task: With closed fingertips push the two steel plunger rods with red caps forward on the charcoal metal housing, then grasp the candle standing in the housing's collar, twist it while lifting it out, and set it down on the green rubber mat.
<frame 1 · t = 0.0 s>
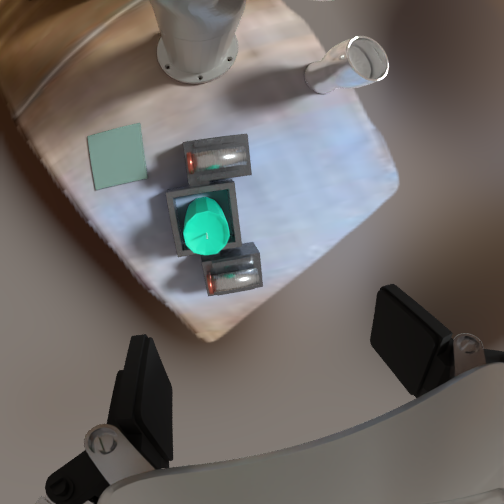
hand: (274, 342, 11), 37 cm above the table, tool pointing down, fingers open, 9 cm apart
beer glass: (320, 78, 40), on the table
candle: (204, 214, 46), resting in housing
housing: (222, 212, 46), on the table
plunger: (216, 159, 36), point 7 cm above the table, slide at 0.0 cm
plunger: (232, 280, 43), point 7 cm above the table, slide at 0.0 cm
pad: (116, 156, 39), on the table
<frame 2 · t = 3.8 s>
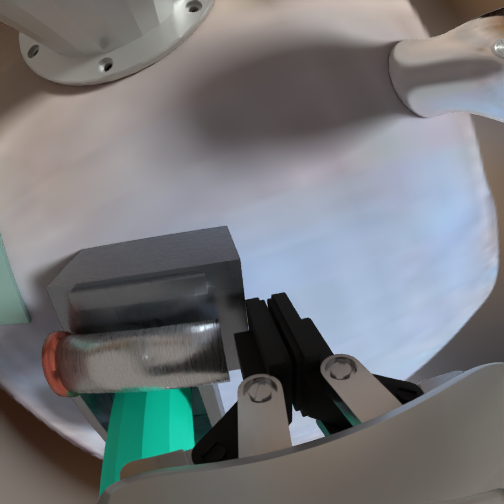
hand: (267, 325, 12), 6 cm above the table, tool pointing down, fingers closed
beer glass: (417, 78, 15), on the table
candle: (153, 387, 20), resting in housing
housing: (190, 385, 20), on the table
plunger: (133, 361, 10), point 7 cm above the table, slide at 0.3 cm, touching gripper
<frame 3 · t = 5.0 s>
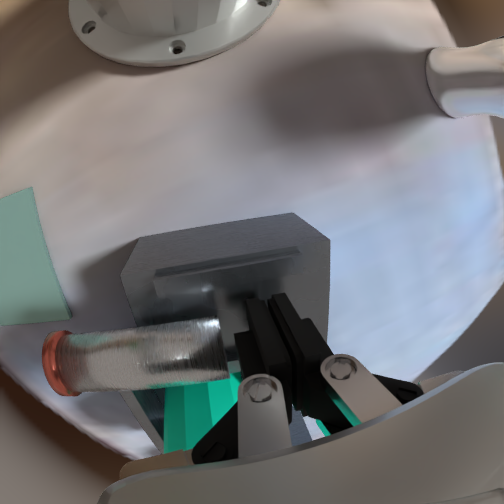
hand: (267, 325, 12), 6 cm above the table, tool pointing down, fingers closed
beer glass: (447, 82, 15), on the table
candle: (203, 379, 20), resting in housing
housing: (242, 375, 21), on the table
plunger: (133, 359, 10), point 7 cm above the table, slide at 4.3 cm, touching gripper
pad: (4, 266, 14), on the table
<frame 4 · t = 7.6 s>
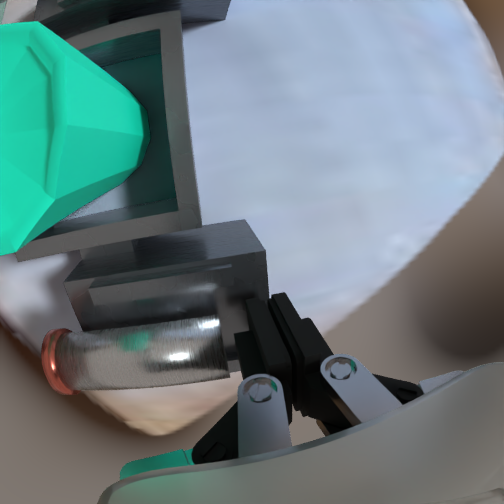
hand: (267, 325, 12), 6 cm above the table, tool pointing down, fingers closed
candle: (100, 137, 13), resting in housing
housing: (150, 125, 13), on the table
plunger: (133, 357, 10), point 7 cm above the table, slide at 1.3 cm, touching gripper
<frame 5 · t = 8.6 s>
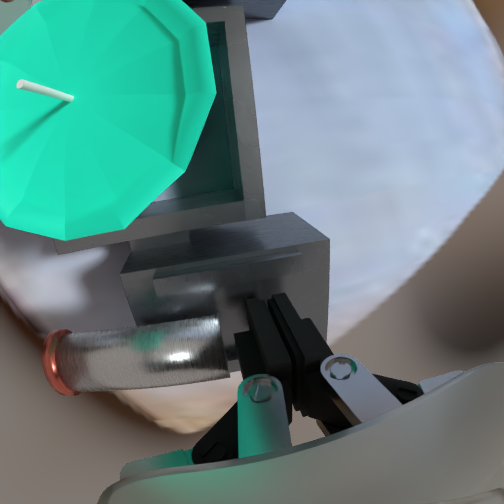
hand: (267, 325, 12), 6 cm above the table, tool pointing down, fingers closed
candle: (148, 126, 13), resting in housing
housing: (202, 117, 14), on the table
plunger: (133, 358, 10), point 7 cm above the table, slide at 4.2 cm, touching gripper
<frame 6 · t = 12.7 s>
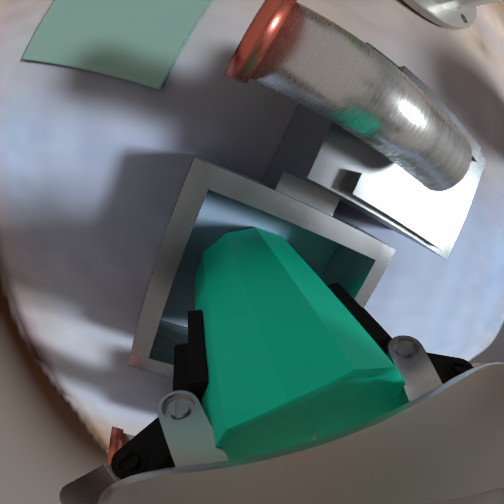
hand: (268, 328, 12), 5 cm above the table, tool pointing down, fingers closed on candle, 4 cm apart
candle: (248, 278, 16), resting in housing, touching gripper
housing: (294, 293, 17), on the table
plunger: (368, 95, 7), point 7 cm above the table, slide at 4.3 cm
when the fingers open (6 cm above the table, at t = 18.4 s): candle drops 1 cm, resting on pad.
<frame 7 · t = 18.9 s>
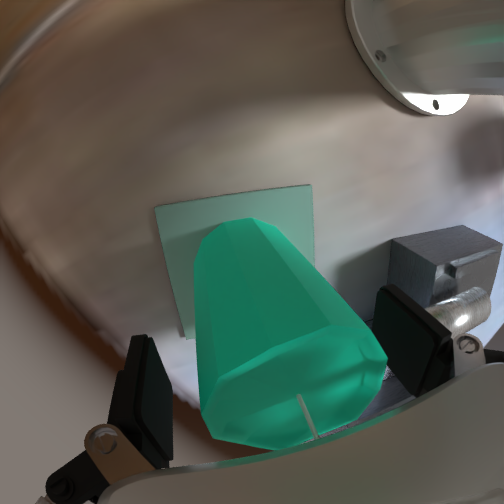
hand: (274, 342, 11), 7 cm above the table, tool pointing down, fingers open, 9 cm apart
candle: (243, 264, 17), resting on pad
housing: (409, 345, 24), on the table
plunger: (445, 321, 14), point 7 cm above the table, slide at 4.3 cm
pad: (243, 266, 17), on the table
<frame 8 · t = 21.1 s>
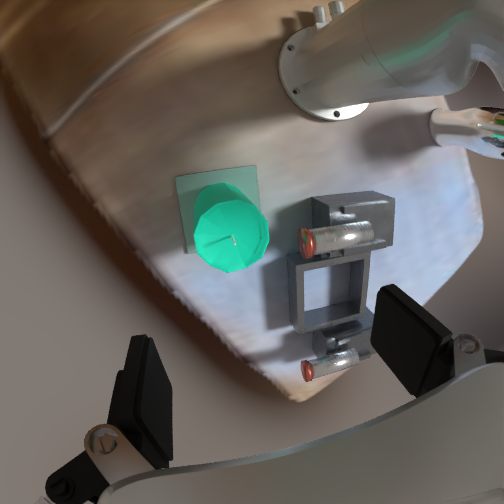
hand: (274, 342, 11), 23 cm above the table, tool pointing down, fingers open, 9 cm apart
beer glass: (440, 127, 33), on the table
candle: (220, 208, 32), resting on pad
housing: (342, 278, 39), on the table
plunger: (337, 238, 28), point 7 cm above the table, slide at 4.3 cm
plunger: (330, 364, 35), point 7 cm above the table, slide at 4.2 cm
pad: (220, 209, 32), on the table
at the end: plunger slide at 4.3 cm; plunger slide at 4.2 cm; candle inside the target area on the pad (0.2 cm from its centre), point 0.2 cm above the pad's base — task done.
